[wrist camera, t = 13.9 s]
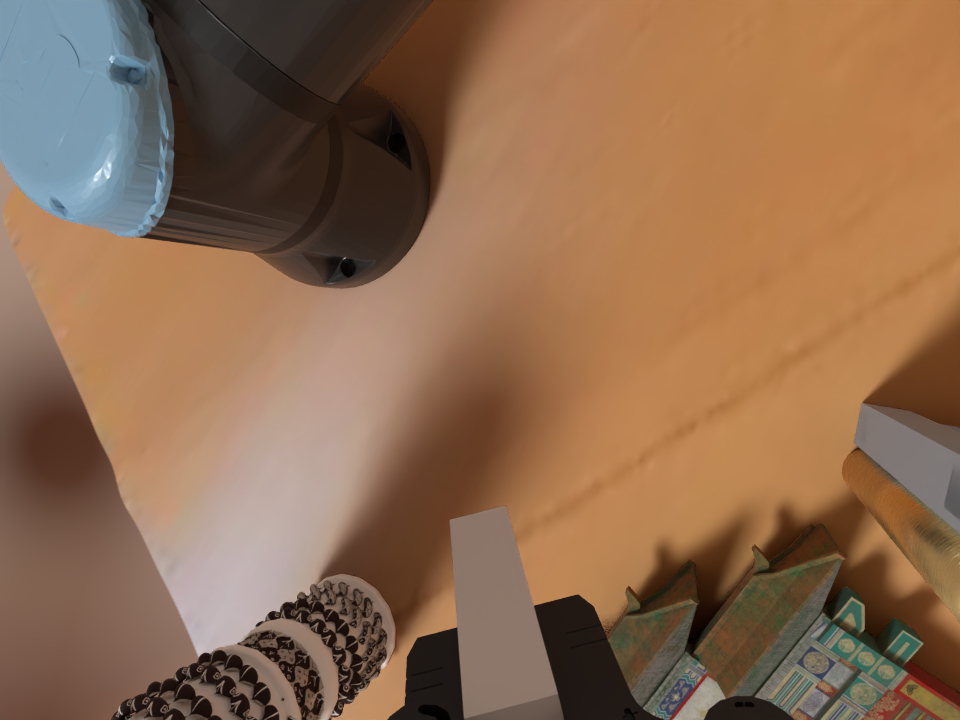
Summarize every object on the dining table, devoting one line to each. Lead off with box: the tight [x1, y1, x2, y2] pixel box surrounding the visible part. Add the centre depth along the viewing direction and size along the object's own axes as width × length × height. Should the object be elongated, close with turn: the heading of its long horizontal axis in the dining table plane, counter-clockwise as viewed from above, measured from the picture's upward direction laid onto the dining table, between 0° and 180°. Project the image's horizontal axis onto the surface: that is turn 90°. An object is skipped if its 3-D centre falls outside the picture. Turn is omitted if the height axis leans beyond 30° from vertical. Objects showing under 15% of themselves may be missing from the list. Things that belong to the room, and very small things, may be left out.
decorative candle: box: [111, 574, 396, 720], centre depth 38 cm, size 9×9×25 cm
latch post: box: [842, 448, 960, 622], centre depth 28 cm, size 3×3×18 cm
